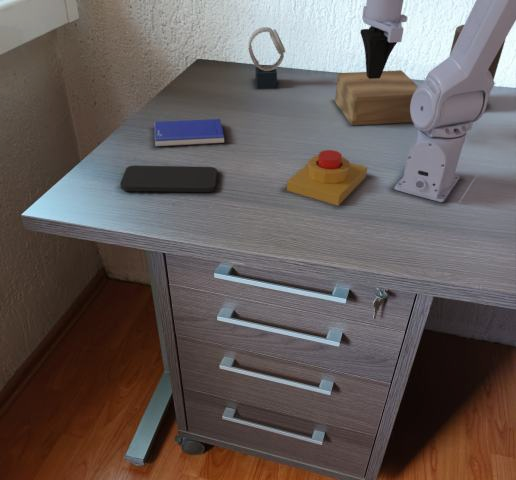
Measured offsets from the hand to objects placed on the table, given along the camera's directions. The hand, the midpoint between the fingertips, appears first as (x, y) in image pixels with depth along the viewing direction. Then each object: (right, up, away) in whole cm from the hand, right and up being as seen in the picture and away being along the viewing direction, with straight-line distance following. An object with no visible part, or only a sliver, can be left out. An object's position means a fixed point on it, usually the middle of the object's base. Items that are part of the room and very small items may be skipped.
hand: (373, 77), depth 91 cm
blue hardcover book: (-33, -8, +7) cm, 35 cm away
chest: (+4, +1, +16) cm, 16 cm away
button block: (-9, -20, -6) cm, 23 cm away
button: (-9, -18, -8) cm, 22 cm away
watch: (-18, +12, +27) cm, 35 cm away
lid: (+4, +4, +12) cm, 14 cm away
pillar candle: (+23, +4, +20) cm, 31 cm away
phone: (-34, -20, -6) cm, 40 cm away
